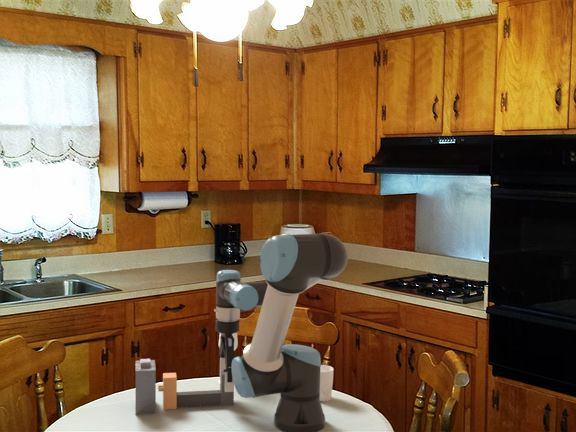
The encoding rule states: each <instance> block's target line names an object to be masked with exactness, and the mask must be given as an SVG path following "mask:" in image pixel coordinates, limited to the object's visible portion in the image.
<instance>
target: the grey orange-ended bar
mask: <svg viewBox="0 0 576 432" xmlns="http://www.w3.org/2000/svg"><path fill="white" fill-rule="evenodd" d="M177 379H178V378H177V372H164V373H162V384H161V385H160V384H158V392H162V407H163V411H165V410H177V408H195V407H197V408H198V407H200V408H201V407H214V406H215V407H216V406H220V407H222V406H234V405H235V404H234V402H235V391H234V392H225V372H223V371H220V370H219V380H220V383H219V389H215V390H212V389H211V390H193V391H177V390H178V389H177V388H178V387H177V385H178V384H177Z"/></svg>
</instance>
